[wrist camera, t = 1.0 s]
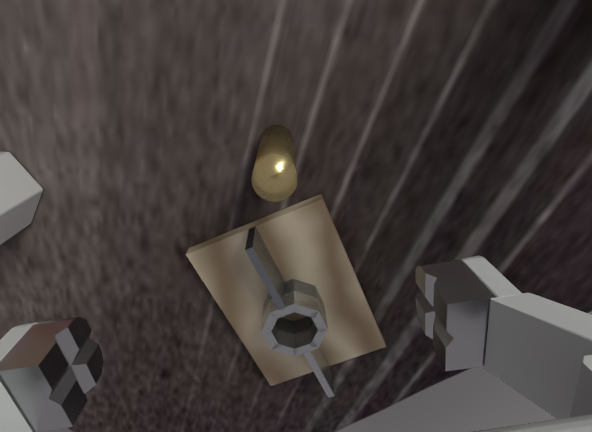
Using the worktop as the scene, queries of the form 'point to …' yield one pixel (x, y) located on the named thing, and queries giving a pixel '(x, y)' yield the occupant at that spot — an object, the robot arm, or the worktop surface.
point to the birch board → (292, 265)
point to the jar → (16, 197)
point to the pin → (275, 165)
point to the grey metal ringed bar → (287, 300)
